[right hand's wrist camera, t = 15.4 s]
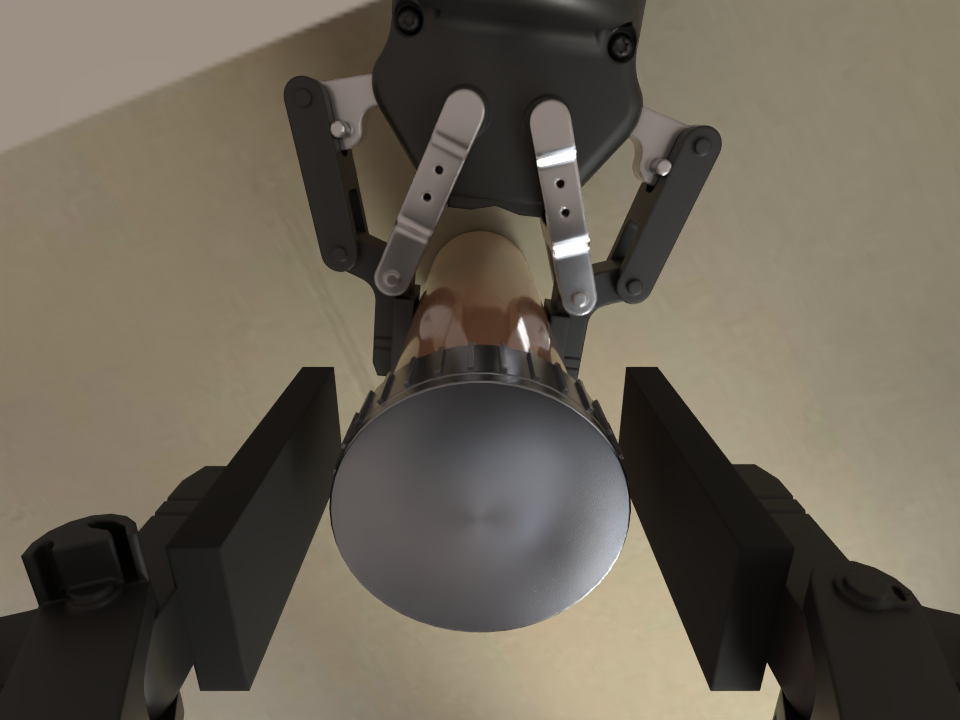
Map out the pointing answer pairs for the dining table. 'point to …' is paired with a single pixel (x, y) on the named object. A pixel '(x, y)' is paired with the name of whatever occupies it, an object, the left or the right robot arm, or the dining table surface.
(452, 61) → the left robot arm
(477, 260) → the jar
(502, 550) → the lid
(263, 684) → the dining table surface
